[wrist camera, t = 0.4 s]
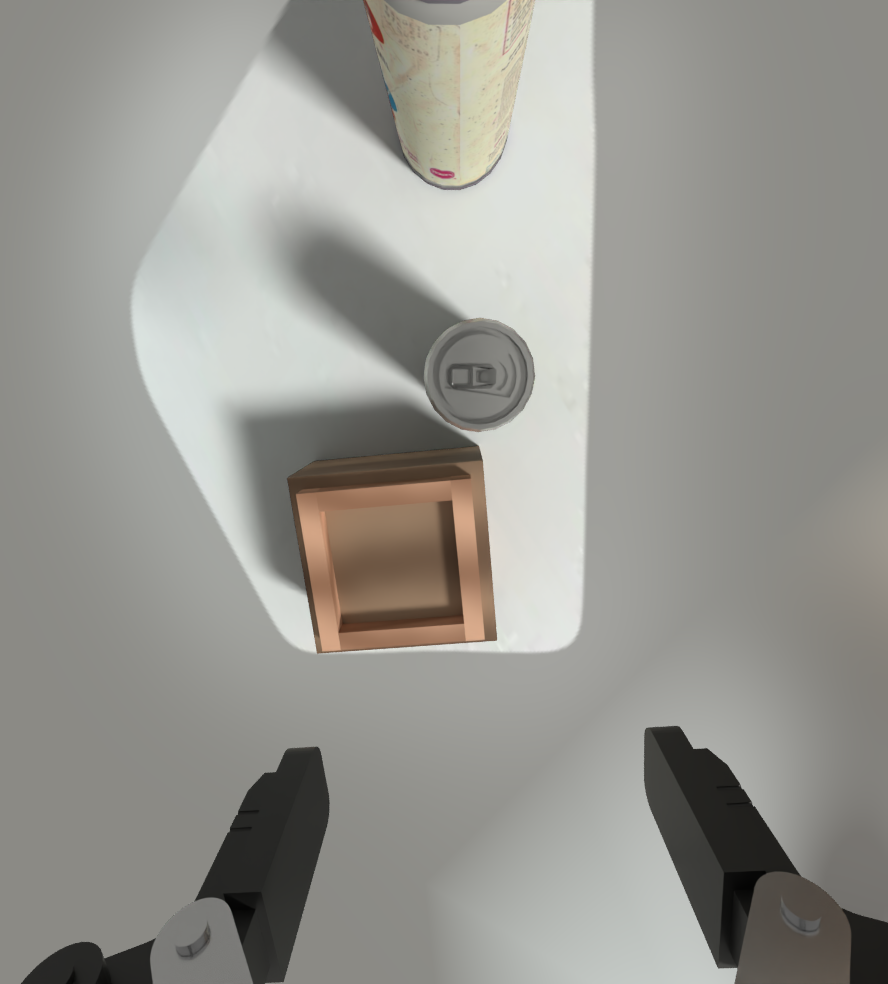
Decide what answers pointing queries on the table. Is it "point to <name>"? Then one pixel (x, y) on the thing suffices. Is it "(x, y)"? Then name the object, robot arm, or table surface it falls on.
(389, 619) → the wooden crate
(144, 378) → the table surface
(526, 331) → the table surface
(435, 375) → the beer can
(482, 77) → the aerosol can
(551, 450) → the table surface
